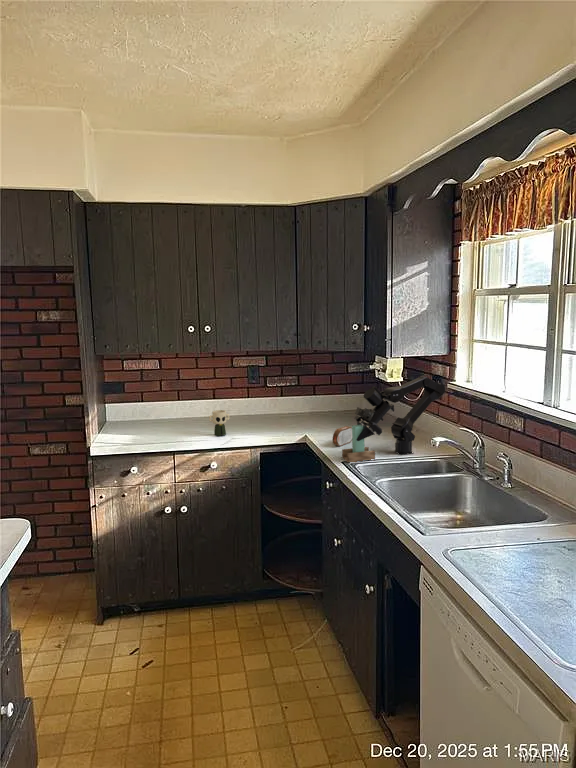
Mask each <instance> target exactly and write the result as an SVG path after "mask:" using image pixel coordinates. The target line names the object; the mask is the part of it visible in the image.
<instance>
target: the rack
mask: <svg viewBox="0 0 576 768" xmlns="http://www.w3.org/2000/svg"><path fill="white" fill-rule="evenodd" d="M364 450H365V451H364V452H354V453H353V449H352V447H351V448H344V449H343V448H342V449H341V454H342V455H341V457H342V458H341V459H342V460H343V461H344V460H345V462H347V463H348V462H355V463H358V462H357V461H363V460H371V459H375V460H376V451H375V450H370V448H369V446H364Z"/></svg>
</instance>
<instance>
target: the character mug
mask: <svg viewBox="0 0 576 768" xmlns="http://www.w3.org/2000/svg"><path fill="white" fill-rule="evenodd" d="M208 419H209V420H208V421H209V422H212V423H213V424H215V425H214V434H213V435H214V436H216V437H220V436H226V435H227V429H226V426H225V425H226V423H227V421H229V420H230V413H227V411H226V410H225V409H218V410H212V414H211V415H208Z"/></svg>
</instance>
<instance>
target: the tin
mask: <svg viewBox="0 0 576 768" xmlns="http://www.w3.org/2000/svg"><path fill="white" fill-rule="evenodd" d="M351 442H352V426H347V425H345V426H342V427H339V428H336V429H335V431H334V432H333V433H332V443H333V445H334V446H336V447H337V446H338V447H342V446H345V445H347V444H351Z"/></svg>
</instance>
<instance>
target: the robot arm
mask: <svg viewBox="0 0 576 768" xmlns="http://www.w3.org/2000/svg"><path fill="white" fill-rule="evenodd" d="M421 388H423V389H424V390H423V395H422V396H421V398H419V400H418V401H417V402H416V403H415V404H414V406H412V408H411V409H409V411H408V412H407V414H405V416H404V417H397V418H396V419H395V421H393V422H392V425H391V427H390V429H391V430H390V431H391V435H393V438H394V439H395V441H396V442H395V443H394V444H395V445H394V452H395V453H397V454H398V453H399V455H400V454H404V455H408V454H407V453H412V452H413V441H415V438H416V436H415V434H414V433H413V432H412V431H413V429H414V424H415V423H416V421H417V420H418V419H419V418H420V417H421V415H422V414H423V413H424V412H425V411H426V410H427V408H428V407H429V406H430V405H431V404H432V402H434V401H436V400H439V399H440V398H441V397H443V395H445V393H446V386H445V385H444V384H443V383H441V382H438V381H435V380H433V379H431V378H429V377H427V376H418V377H417V378H415V379H413V380H410V381H408V382H406V383H404V384H403V383H402V384H401V385H398V386H392V387H387V388H385V389H383V391H380V390H379V388H377V387H376V386H372V387H371V388H369V389H367V390H366V391H365V392H364V393H363V399H364V400H366V402H368V403H369V404H370V406H372V407H373V408H372V409H369V408H366V407H364V408H362V407H359V406H357V407H356V409H355V412H354V414H355V415H356V416H354V417H353V419H354V420H355V421H356V425H362V426H363V430H362V432H361V433H360V435H359V436H358V438H357V439H356V440H357V441H360V440H362V439H364V440H365V439H366V438H369V437H371V436H374V435H375V434H376V435H377V436H380V435H381V434H382V433H383V429H382V428H381V427H380V426H379V425H378V424H379V423H380V421H381V422H382V421H384V420H385V419H384V417H385V415H387V413H389V411H392V412H395V405H394V404H395V403H398V402H399V401H401V400H402V399H404V397H405V396H406V395H408V394H410V393H413V392H414V391H417V390H419V389H421ZM393 403H394V404H393ZM413 454H414V452H413Z"/></svg>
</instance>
